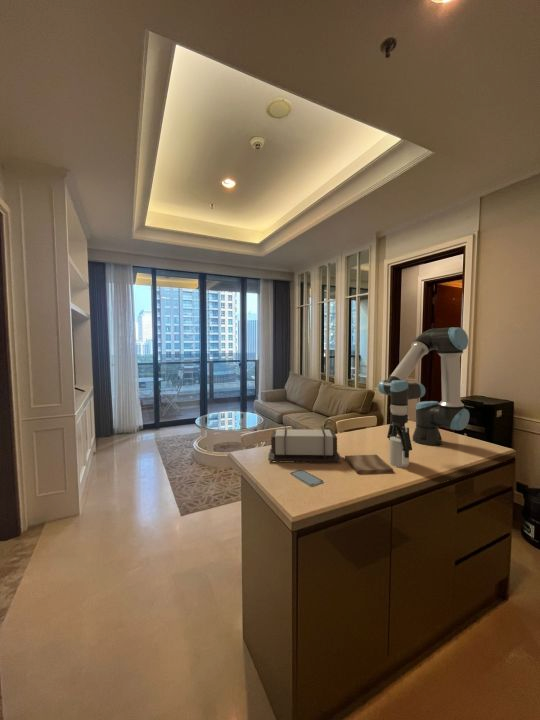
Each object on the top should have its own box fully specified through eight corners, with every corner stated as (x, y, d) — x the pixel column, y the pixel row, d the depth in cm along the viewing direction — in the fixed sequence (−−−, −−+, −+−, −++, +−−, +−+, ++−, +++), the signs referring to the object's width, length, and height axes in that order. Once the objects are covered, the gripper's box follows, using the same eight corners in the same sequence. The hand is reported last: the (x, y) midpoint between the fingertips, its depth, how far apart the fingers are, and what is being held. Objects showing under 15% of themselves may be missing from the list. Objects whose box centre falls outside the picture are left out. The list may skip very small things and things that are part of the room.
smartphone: (302, 469, 138) (324, 481, 125) (302, 471, 138) (324, 483, 125) (288, 473, 134) (310, 485, 121) (288, 474, 134) (310, 487, 121)
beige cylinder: (408, 468, 138) (409, 442, 138) (389, 466, 141) (389, 440, 140) (407, 461, 146) (407, 437, 145) (389, 459, 149) (389, 435, 148)
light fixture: (340, 434, 144) (267, 433, 146) (341, 464, 144) (268, 463, 147) (336, 425, 159) (270, 425, 162) (336, 453, 160) (270, 452, 162)
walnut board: (376, 457, 152) (376, 454, 152) (393, 472, 134) (393, 469, 134) (344, 458, 151) (344, 455, 151) (357, 473, 133) (357, 470, 133)
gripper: (380, 408, 154) (380, 450, 155) (404, 420, 130) (403, 469, 131) (394, 408, 155) (394, 449, 156) (421, 419, 130) (420, 469, 131)
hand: (398, 459), depth 143 cm, fingers open, 12 cm apart
